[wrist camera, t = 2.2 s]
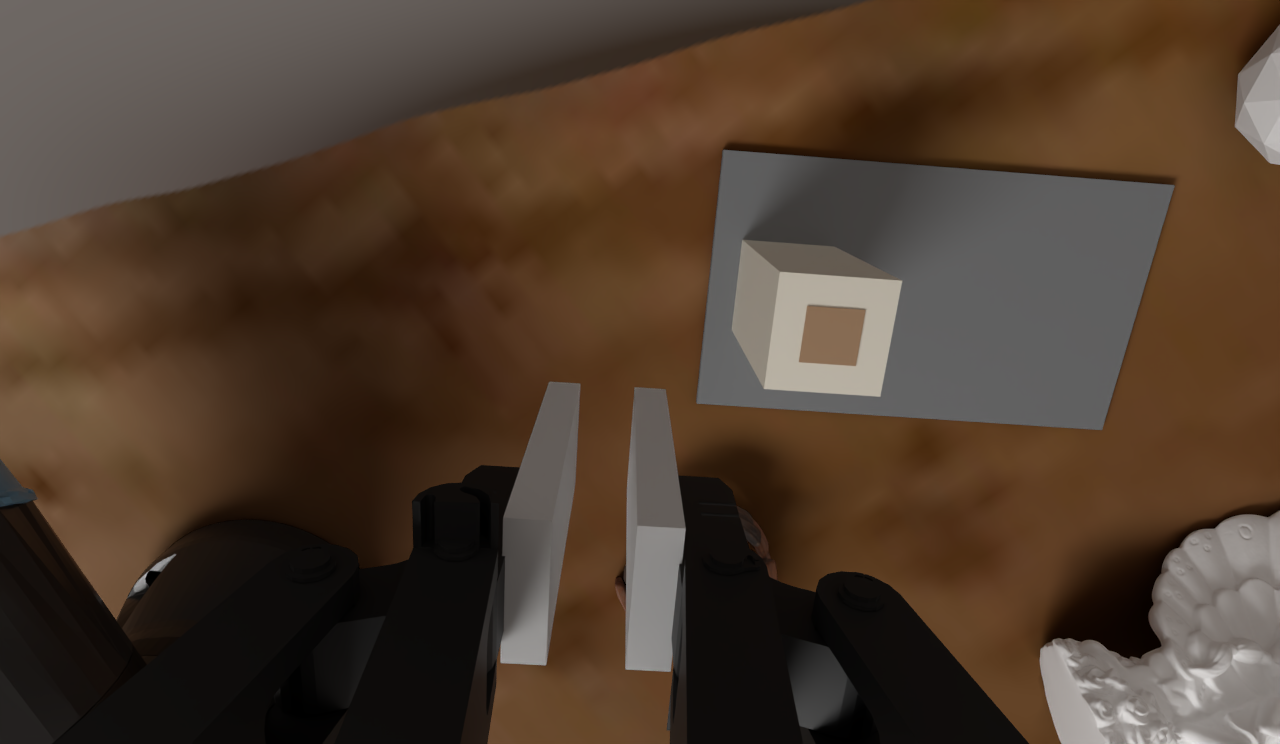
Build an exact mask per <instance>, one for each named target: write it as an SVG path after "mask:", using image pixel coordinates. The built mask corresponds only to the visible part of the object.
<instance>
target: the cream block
mask: <svg viewBox="0 0 1280 744" xmlns="http://www.w3.org/2000/svg"><path fill="white" fill-rule="evenodd" d="M901 285H902V280H900V279H898V278H896V277H894V276H892V275H890V274H888V273H886V272H884V271H882V270H880V269H878V268H876V267H874V266H872V265H870V264H868V263H866V262H864V261H862V260H860V259H858V258H856V257H854V256H852V255H850V254H848V253H846V252H844V251H842V250H840V249H838V248H836V247H834V246H821V245H808V244H794V243H781V242H767V241H754V240H742V246H741V254H740V263H739V271H738V280H737V288H736V297H735V305H734V314H733V322H732V331H733V333H734V335H735V337H736V339H737V341H738V342H739V344H740V346H741V348H742V350H743V352H744V353H745V355H746V357H747V359H748V361H749V363H750V364H751V366H752V368H753V370H754V372H755V374H756V375H757V377H758V379H759V381H760V383H761V385H762V386H763V388H764V389H771V390H786V391H801V392H816V393H831V394H846V395H861V396H876V397H880V396H881V390H882V385H883V380H884V375H885V369H886V364H887V359H888V354H889V348H890V343H891V338H892V333H893V327H894V322H895V317H896V312H897V306H898V301H899V296H900V291H901Z"/></svg>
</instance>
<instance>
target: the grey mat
mask: <svg viewBox="0 0 1280 744" xmlns="http://www.w3.org/2000/svg"><path fill="white" fill-rule="evenodd" d="M1174 186H1175V185H1166V184H1153V183H1140V182H1127V181H1115V180H1102V179H1089V178H1076V177H1064V176H1051V175H1038V174H1026V173H1013V172H1000V171H987V170H975V169H962V168H949V167H936V166H924V165H911V164H898V163H886V162H873V161H860V160H847V159H835V158H822V157H809V156H796V155H784V154H771V153H758V152H746V151H733V150H723V153H722V162H721V172H720V181H719V191H718V200H717V209H716V219H715V228H714V238H713V247H712V257H711V266H710V276H709V285H708V295H707V304H706V314H705V323H704V333H703V342H702V352H701V361H700V370H699V380H698V389H697V399H696V402H697V404H713V405H728V406H743V407H758V408H774V409H789V410H804V411H819V412H835V413H850V414H865V415H880V416H896V417H911V418H926V419H941V420H957V421H972V422H987V423H1002V424H1018V425H1033V426H1048V427H1063V428H1079V429H1094V430H1102V428H1103V425H1104V421H1105V418H1106V415H1107V411H1108V408H1109V405H1110V401H1111V398H1112V394H1113V391H1114V388H1115V384H1116V381H1117V378H1118V374H1119V371H1120V368H1121V364H1122V361H1123V357H1124V354H1125V351H1126V347H1127V344H1128V341H1129V337H1130V334H1131V331H1132V327H1133V324H1134V320H1135V317H1136V314H1137V310H1138V307H1139V304H1140V300H1141V297H1142V294H1143V290H1144V287H1145V283H1146V280H1147V277H1148V273H1149V270H1150V267H1151V263H1152V260H1153V257H1154V253H1155V250H1156V246H1157V243H1158V240H1159V236H1160V233H1161V230H1162V226H1163V223H1164V220H1165V216H1166V213H1167V209H1168V206H1169V203H1170V199H1171V196H1172V193H1173V189H1174ZM742 240H754V241H767V242H781V243H794V244H808V245H821V246H834V247H836V248H838V249H840V250H842V251H844V252H846V253H848V254H850V255H852V256H854V257H856V258H858V259H860V260H862V261H864V262H866V263H868V264H870V265H872V266H874V267H876V268H878V269H880V270H882V271H884V272H886V273H888V274H890V275H892V276H894V277H896V278H898V279H900V280H902V285H901V291H900V296H899V301H898V306H897V312H896V317H895V322H894V327H893V333H892V338H891V343H890V348H889V354H888V359H887V364H886V369H885V375H884V380H883V385H882V390H881V396H880V397H876V396H861V395H846V394H831V393H816V392H801V391H786V390H771V389H764V388H763V386H762V385H761V383H760V381H759V379H758V377H757V375H756V374H755V372H754V370H753V368H752V366H751V364H750V363H749V361H748V359H747V357H746V355H745V353H744V352H743V350H742V348H741V346H740V344H739V342H738V341H737V339H736V337H735V335H734V333H733V331H732V322H733V314H734V305H735V297H736V288H737V280H738V271H739V263H740V254H741V246H742Z"/></svg>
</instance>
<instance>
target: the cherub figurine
mask: <svg viewBox="0 0 1280 744" xmlns="http://www.w3.org/2000/svg"><path fill="white" fill-rule="evenodd" d="M1161 573H1162V574H1160V575H1159V576H1158V578H1157V579H1156V581H1155V583H1154V587H1153V590H1152V600H1153V604H1154V605H1153V606H1152V607H1151V609H1150V611H1149V614H1148V619H1149V623H1150V626H1151V628H1152V630H1153V631H1154V633H1155V634H1156V635H1157V637H1158V638H1159V640H1160V642H1161V647H1159V648H1156V649H1154V650H1152V651H1149V652H1147V653H1145V654H1144V655H1142V657H1141V659H1139V658H1136V657H1132V656H1131V657H1130V658H1129V659H1128V658H1124V657H1121V656H1120V655H1119V654H1118V653H1116V652H1113V651H1109V650H1108V649H1106V648H1105V647H1104V646H1103V645H1102V644H1101V643H1099V642H1097V641H1094V640H1085V641H1082V642H1080V641H1076V640H1074V639H1071V638H1067V639H1061V638H1057V639H1053V641H1052V642H1048V643H1046V644H1045V645H1044V647H1042V648H1041V650H1040V668H1041V674H1042V678H1043V682H1044V688H1045V694H1046V698H1047V702H1048V706H1049V709H1050V712H1051V716H1052V719H1053V722H1054V725H1055V728H1056V731H1057V734H1058V737H1059V739H1060V741H1061V744H1280V510H1279V511H1278V512H1276V513H1274V514H1272V515H1271V516H1270V517H1264V516H1260V515H1253V514H1244V515H1237V516H1233V517H1230V518H1228V519H1226V520H1224V521H1222V522H1221V523H1220V524H1219V525H1218V526H1217V527H1216V528H1214V529H1200V530H1196V531H1194V532H1192V533H1190V534H1189V535H1188V536H1187V537H1186V538H1185V539H1184V540H1183V541H1182V543H1181V545H1180V547H1179V548H1176V549H1173V550H1171V551H1170V552H1169V553H1168V554H1167V556H1166V557H1165V559H1164V561H1163V564H1162V570H1161Z"/></svg>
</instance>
